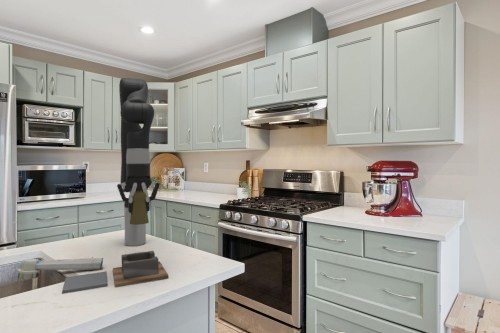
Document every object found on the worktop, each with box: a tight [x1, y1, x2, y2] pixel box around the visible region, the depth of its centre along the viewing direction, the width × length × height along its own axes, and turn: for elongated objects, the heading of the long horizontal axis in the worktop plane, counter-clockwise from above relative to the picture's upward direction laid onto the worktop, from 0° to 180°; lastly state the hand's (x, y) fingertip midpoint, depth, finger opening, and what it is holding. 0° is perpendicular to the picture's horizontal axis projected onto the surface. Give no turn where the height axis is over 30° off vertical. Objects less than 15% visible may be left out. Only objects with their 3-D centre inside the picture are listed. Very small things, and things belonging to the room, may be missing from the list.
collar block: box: [112, 250, 169, 288], centre depth 106 cm, size 16×16×6 cm
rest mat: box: [61, 271, 109, 294], centre depth 99 cm, size 12×12×1 cm
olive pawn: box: [130, 191, 149, 225], centre depth 105 cm, size 6×6×11 cm
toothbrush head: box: [16, 256, 104, 281], centre depth 107 cm, size 5×7×25 cm
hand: (139, 213), depth 105 cm, fingers closed on olive pawn, 4 cm apart
